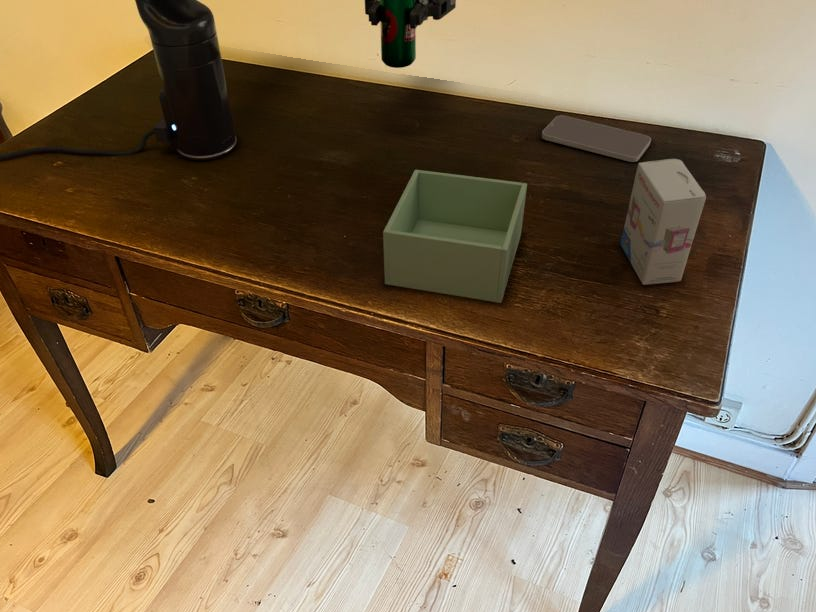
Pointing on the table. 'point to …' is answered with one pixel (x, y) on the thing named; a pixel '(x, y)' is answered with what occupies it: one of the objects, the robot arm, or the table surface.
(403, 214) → the open storage box
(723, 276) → the table surface
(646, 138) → the smartphone
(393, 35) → the soda can
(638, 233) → the ink box
